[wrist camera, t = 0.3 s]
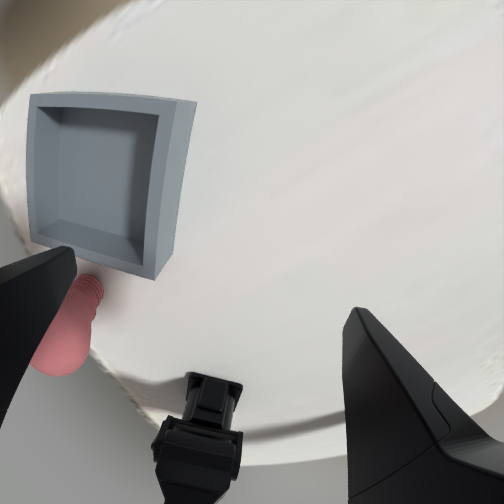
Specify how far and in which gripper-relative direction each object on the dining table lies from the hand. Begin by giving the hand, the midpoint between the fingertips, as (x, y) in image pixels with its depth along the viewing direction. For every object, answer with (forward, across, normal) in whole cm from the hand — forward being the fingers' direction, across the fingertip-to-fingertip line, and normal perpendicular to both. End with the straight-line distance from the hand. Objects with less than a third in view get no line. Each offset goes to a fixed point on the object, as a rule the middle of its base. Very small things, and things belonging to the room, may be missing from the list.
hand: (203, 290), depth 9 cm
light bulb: (+15, +14, +15) cm, 25 cm away
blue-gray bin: (+15, +12, +2) cm, 19 cm away
